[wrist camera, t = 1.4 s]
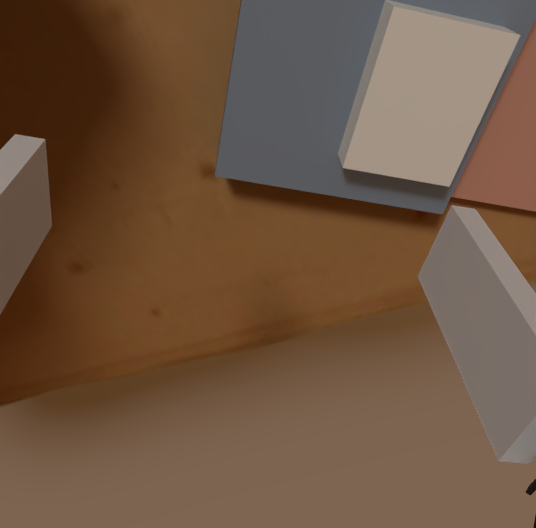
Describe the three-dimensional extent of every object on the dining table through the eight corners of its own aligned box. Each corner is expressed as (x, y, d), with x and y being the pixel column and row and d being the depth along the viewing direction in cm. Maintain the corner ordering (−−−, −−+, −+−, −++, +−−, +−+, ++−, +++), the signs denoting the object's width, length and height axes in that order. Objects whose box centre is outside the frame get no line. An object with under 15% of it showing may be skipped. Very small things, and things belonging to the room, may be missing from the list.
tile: (337, 154, 32) (342, 167, 30) (385, -1, 27) (393, 6, 25) (439, 172, 33) (449, 186, 31) (504, 26, 28) (520, 35, 26)
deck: (217, 156, 35) (214, 176, 32) (256, -105, 26) (257, -104, 24) (430, 193, 37) (442, 214, 35) (532, -35, 28) (558, -29, 26)
